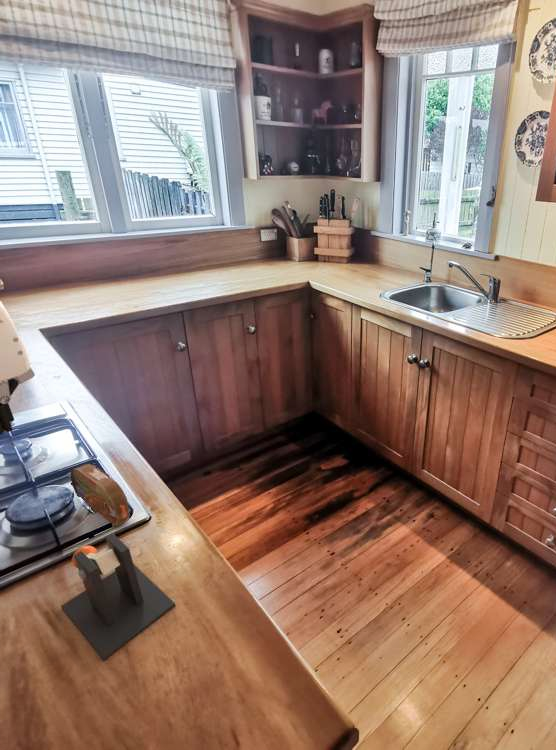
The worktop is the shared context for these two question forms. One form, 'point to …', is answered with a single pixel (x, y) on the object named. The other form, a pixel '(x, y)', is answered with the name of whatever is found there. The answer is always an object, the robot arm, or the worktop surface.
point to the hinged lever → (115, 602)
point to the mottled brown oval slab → (100, 493)
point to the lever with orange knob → (99, 558)
